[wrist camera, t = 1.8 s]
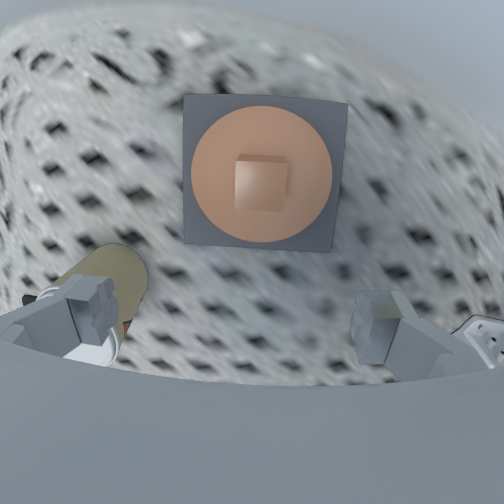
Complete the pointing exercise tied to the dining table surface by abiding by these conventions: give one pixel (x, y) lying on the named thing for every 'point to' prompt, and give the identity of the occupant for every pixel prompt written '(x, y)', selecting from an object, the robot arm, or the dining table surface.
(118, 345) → the coffee cup
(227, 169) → the lid
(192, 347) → the dining table surface
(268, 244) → the mat
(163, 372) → the dining table surface
